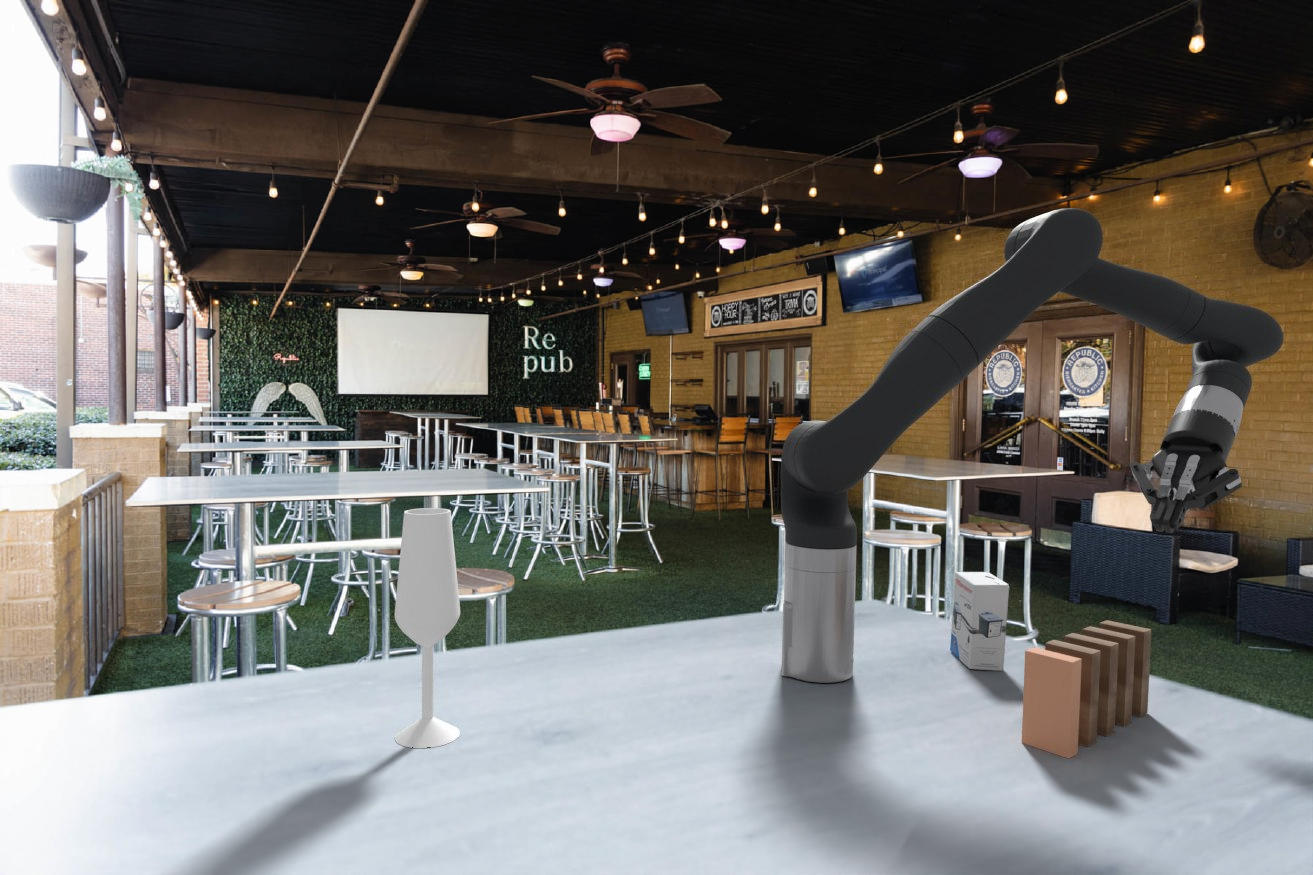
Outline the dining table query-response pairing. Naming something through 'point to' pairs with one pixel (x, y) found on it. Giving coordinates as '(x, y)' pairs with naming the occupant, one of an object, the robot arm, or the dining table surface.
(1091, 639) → the tile
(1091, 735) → the tile
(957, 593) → the ink box
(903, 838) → the dining table surface
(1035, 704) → the tile
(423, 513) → the champagne flute
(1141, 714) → the tile
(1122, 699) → the tile
